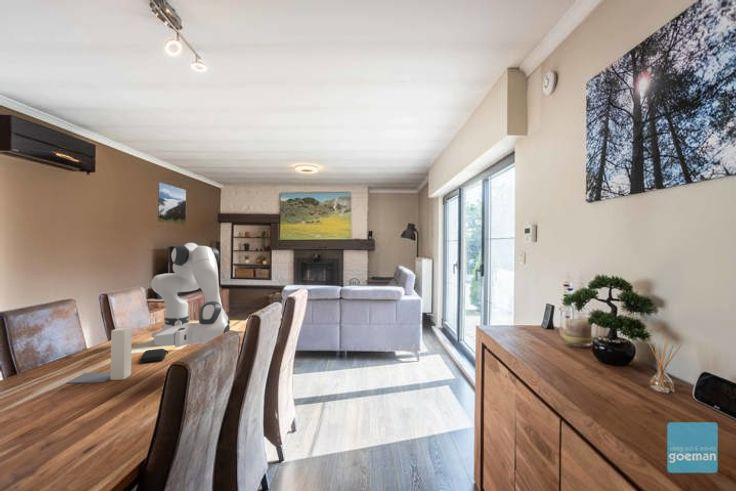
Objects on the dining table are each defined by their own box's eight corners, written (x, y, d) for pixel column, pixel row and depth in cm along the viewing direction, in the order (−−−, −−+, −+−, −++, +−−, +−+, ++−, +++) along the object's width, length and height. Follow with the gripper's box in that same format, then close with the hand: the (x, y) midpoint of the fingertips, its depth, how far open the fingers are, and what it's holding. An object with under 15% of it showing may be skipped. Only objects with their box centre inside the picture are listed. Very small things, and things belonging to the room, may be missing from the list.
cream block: (110, 379, 136) (111, 330, 136) (118, 375, 141) (119, 327, 141) (123, 379, 137) (124, 330, 137) (130, 374, 142) (131, 327, 142)
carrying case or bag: (166, 361, 159) (168, 352, 172) (166, 355, 159) (168, 347, 172) (139, 365, 154) (143, 355, 167) (139, 358, 154) (143, 349, 167)
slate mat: (66, 383, 132) (66, 382, 132) (84, 373, 142) (84, 372, 142) (103, 382, 134) (103, 381, 134) (119, 372, 144) (119, 372, 144)
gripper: (197, 321, 153) (165, 321, 151) (177, 332, 132) (140, 332, 131) (197, 335, 152) (164, 335, 151) (177, 348, 132) (139, 349, 130)
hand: (153, 334), depth 140 cm, fingers closed
